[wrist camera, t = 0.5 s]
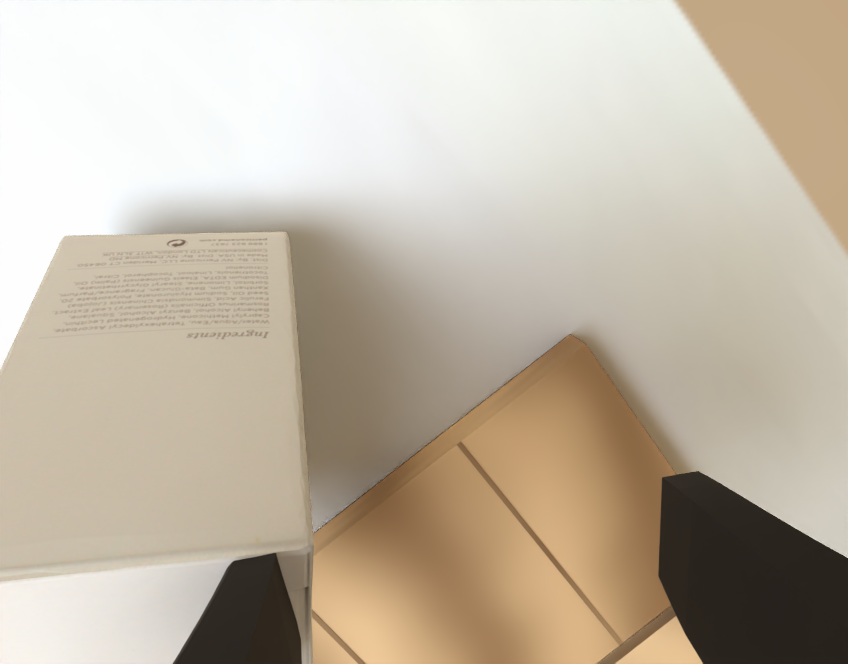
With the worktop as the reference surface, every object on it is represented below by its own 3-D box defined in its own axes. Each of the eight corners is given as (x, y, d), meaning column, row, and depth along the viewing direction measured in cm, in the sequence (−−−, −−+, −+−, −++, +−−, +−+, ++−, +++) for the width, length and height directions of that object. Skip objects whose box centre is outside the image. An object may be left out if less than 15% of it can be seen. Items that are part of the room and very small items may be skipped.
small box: (61, 227, 18) (-122, 583, 9) (292, 224, 19) (317, 542, 10) (114, 466, 22) (21, 858, 14) (299, 453, 23) (321, 809, 15)
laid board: (328, 839, 27) (331, 873, 26) (136, 671, 24) (128, 701, 23) (714, 539, 27) (735, 559, 26) (570, 334, 24) (586, 344, 23)
